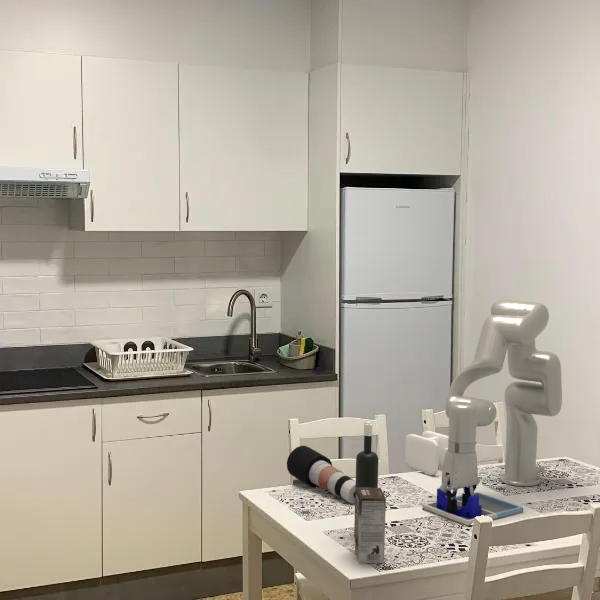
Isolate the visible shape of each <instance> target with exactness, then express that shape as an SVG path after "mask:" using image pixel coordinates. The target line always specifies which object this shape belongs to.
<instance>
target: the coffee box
mask: <svg viewBox="0 0 600 600" xmlns="http://www.w3.org/2000/svg"><path fill="white" fill-rule="evenodd" d="M386 503H387V498H386V496H385V495H384V492H383V490H382V487H378V488H371V487H356V515H355V514H354V523H355V536H354V551H355V554H356V558H357V562H358V563H359V564H383V563H385V561H384V560H385V537H386V535H385V534H386V532H385V531H386V514H387V512H386V511H387V510H386V505H387V504H386Z"/></svg>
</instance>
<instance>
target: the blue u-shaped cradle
mask: <svg viewBox="0 0 600 600" xmlns="http://www.w3.org/2000/svg"><path fill="white" fill-rule="evenodd" d="M436 501H437V505H436V508H437V509H440V510H442V511H445V512H448V511H447V497H446V495H445V494H444V493H443V492H442V491H441V490H440V487H438V488H436ZM448 513H450V514H454V513H451V512H448ZM481 513H482V505H479V496H477V495H473V496H470V497H468V502H467V504H466V506H462V507H459V506H457V513H455V514H454V515H457V516H461V517H465V518H468V519H474V517H476V516H481Z"/></svg>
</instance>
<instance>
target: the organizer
mask: <svg viewBox="0 0 600 600" xmlns="http://www.w3.org/2000/svg"><path fill="white" fill-rule="evenodd" d="M404 449H405V450H404V452H405V453H404V464H405V465H406V466H407V467H408V468H410V470H412V471H416V472H422V473H423V474H424V473H426V474H425V475H426V476H427V475H428V476H433V475H436V474H438V472H439V469H440V470H443V462H444V457H445V454H446V452H447V451H448V435H447V434H443V433H438V432H434V431H431V430H426V431H423V432H422V434H421V435H418V434H415V433H411V434H410V433H409V434H407V435H406V436H405V448H404Z"/></svg>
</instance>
